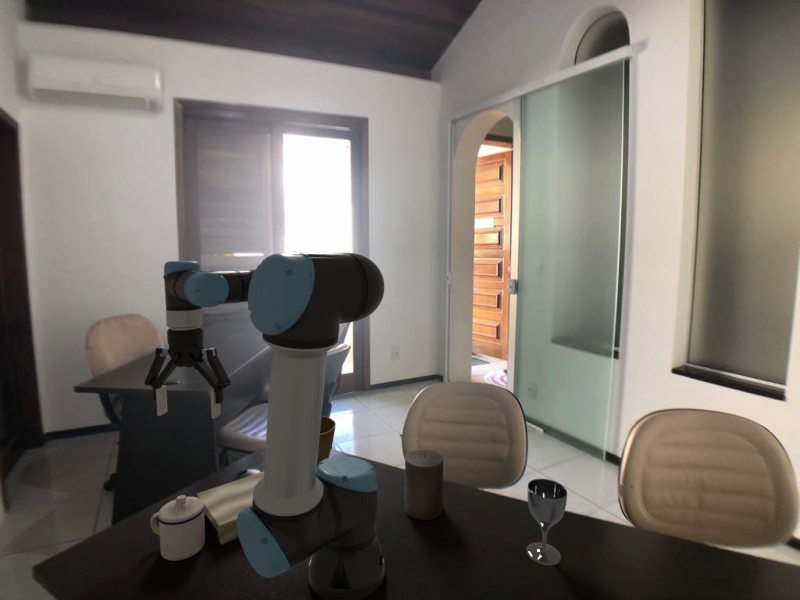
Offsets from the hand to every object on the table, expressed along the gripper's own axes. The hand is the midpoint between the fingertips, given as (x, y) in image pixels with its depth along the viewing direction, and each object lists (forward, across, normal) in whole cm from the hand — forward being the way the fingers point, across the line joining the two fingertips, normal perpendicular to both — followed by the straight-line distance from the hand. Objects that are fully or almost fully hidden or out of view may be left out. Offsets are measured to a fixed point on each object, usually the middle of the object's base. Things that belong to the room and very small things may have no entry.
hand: (189, 415), depth 103 cm
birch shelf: (+25, -13, -1) cm, 28 cm away
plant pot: (+25, -23, -19) cm, 39 cm away
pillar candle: (+26, -56, -9) cm, 62 cm away
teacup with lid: (+25, -3, +12) cm, 28 cm away
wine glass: (+26, -82, +4) cm, 87 cm away
